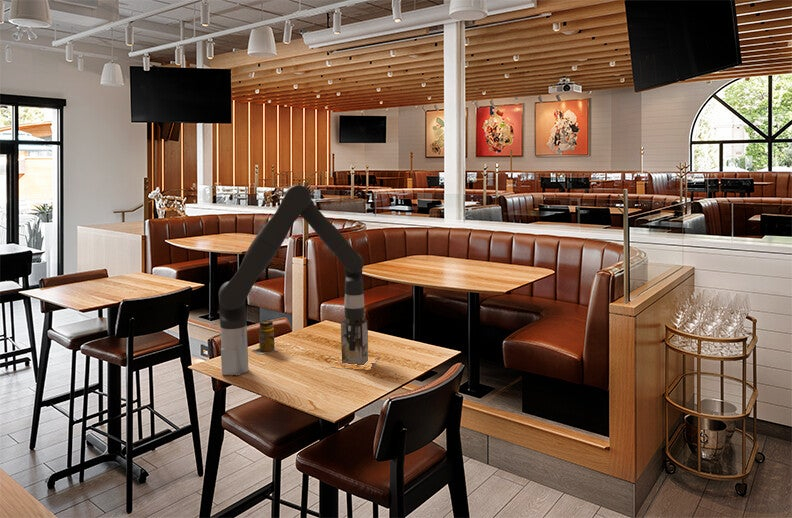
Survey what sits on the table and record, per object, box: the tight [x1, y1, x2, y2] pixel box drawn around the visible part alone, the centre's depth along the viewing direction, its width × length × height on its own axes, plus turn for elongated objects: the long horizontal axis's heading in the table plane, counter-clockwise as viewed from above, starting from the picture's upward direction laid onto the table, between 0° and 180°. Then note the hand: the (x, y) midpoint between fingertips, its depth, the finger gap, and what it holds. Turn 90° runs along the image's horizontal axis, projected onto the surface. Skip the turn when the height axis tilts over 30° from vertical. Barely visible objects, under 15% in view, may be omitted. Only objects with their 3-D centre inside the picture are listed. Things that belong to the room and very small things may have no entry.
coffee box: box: [340, 318, 369, 365], centre depth 220 cm, size 9×6×16 cm
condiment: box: [251, 320, 279, 355], centre depth 235 cm, size 7×8×12 cm
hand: (354, 347), depth 220 cm, fingers closed on coffee box, 6 cm apart
